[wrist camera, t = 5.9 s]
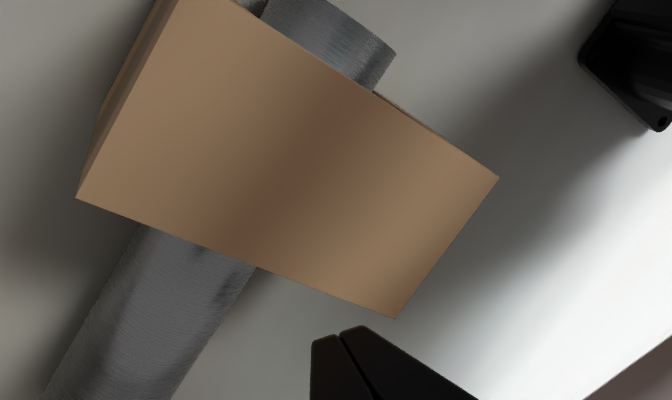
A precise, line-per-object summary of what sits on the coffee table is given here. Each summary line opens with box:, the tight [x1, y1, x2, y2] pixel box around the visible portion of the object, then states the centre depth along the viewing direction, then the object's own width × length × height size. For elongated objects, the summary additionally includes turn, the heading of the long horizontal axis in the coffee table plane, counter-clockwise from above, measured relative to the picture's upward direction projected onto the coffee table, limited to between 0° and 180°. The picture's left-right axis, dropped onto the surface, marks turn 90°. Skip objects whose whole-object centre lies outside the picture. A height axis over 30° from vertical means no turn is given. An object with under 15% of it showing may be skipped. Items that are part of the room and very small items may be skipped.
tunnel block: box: [75, 0, 500, 319], centre depth 15 cm, size 9×5×6 cm, turn 56°
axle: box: [39, 0, 396, 400], centre depth 17 cm, size 18×4×4 cm, turn 146°
